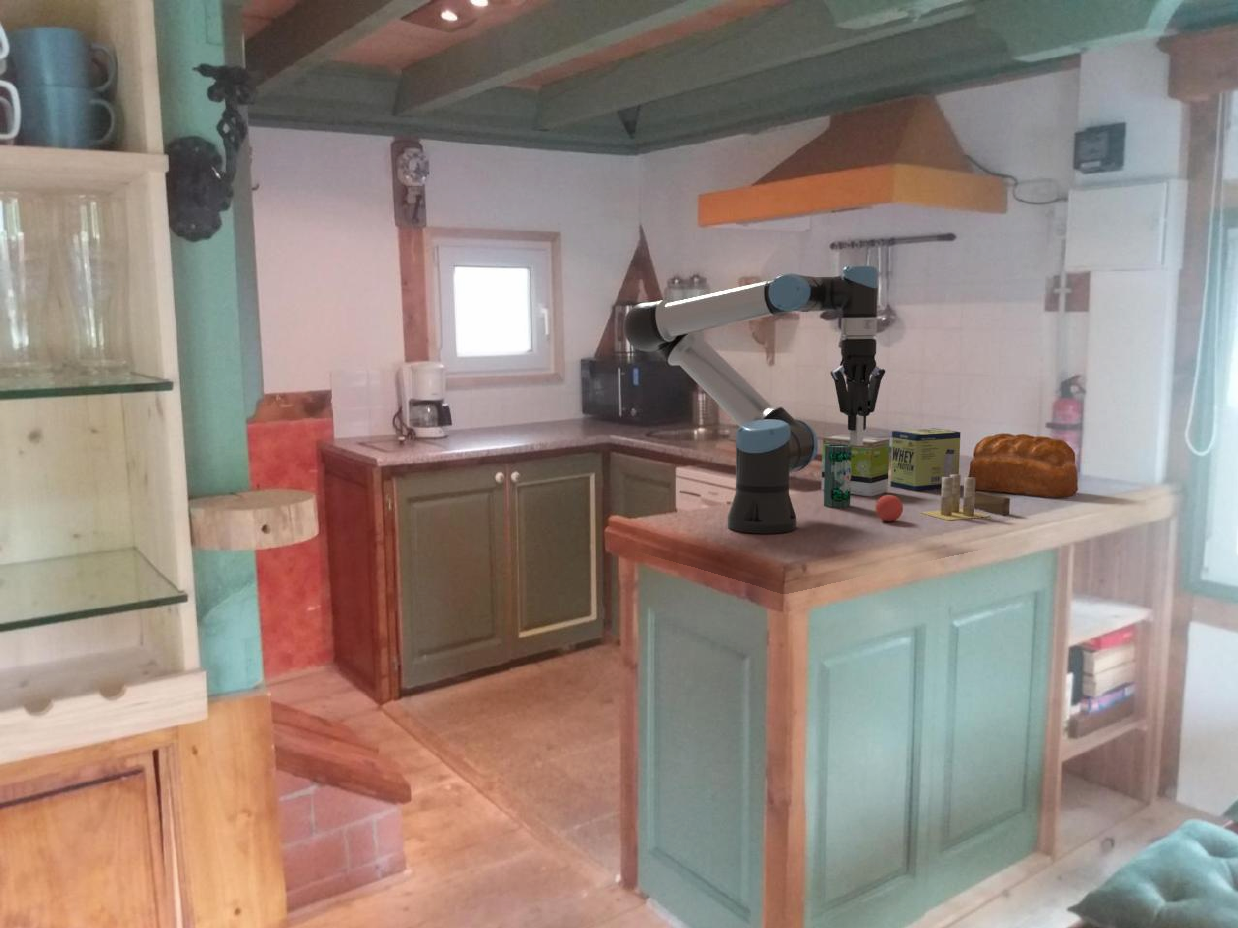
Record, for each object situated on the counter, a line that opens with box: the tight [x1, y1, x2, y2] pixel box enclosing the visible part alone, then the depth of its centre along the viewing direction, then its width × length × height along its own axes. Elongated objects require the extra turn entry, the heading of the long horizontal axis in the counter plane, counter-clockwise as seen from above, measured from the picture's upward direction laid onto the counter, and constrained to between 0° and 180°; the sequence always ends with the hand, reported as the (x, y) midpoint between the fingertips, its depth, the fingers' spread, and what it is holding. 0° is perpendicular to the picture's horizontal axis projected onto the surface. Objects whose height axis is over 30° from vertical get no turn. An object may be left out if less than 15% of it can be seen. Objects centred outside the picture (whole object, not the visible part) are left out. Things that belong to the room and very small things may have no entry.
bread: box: [967, 433, 1079, 499], centre depth 259 cm, size 14×26×16 cm, turn 47°
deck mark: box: [919, 508, 991, 522], centre depth 228 cm, size 12×10×1 cm
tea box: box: [821, 434, 891, 497], centre depth 260 cm, size 15×10×15 cm
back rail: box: [974, 491, 1011, 516], centre depth 231 cm, size 2×10×4 cm, turn 21°
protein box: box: [890, 428, 962, 493], centre depth 267 cm, size 10×16×16 cm
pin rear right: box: [962, 476, 976, 516], centre depth 226 cm, size 2×2×9 cm
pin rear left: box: [950, 474, 962, 513], centre depth 230 cm, size 2×2×9 cm
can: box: [823, 444, 852, 509], centre depth 240 cm, size 6×6×15 cm
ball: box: [875, 494, 904, 522], centre depth 221 cm, size 6×6×6 cm
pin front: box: [940, 477, 953, 516], centre depth 227 cm, size 2×2×9 cm
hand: (856, 444), depth 216 cm, fingers closed
